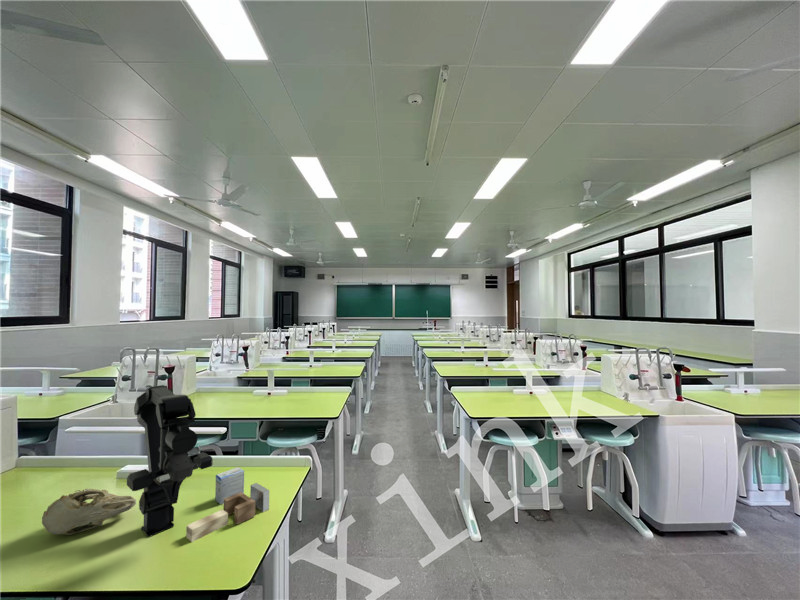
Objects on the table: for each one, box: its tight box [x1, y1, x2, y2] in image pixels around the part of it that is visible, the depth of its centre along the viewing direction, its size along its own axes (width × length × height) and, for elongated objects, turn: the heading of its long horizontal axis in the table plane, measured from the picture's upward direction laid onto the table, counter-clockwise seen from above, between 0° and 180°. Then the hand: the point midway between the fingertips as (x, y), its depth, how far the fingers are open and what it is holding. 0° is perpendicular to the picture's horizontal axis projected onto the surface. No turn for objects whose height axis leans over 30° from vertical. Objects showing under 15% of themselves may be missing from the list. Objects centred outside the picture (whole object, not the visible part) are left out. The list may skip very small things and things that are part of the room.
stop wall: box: [249, 482, 270, 513], centre depth 112 cm, size 2×8×6 cm, turn 52°
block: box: [185, 509, 229, 543], centre depth 100 cm, size 10×4×4 cm, turn 144°
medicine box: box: [214, 467, 245, 505], centre depth 118 cm, size 8×4×9 cm, turn 141°
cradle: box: [222, 492, 256, 525], centre depth 107 cm, size 6×9×4 cm, turn 52°
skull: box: [41, 488, 137, 536], centre depth 102 cm, size 11×20×15 cm
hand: (171, 502), depth 93 cm, fingers closed
